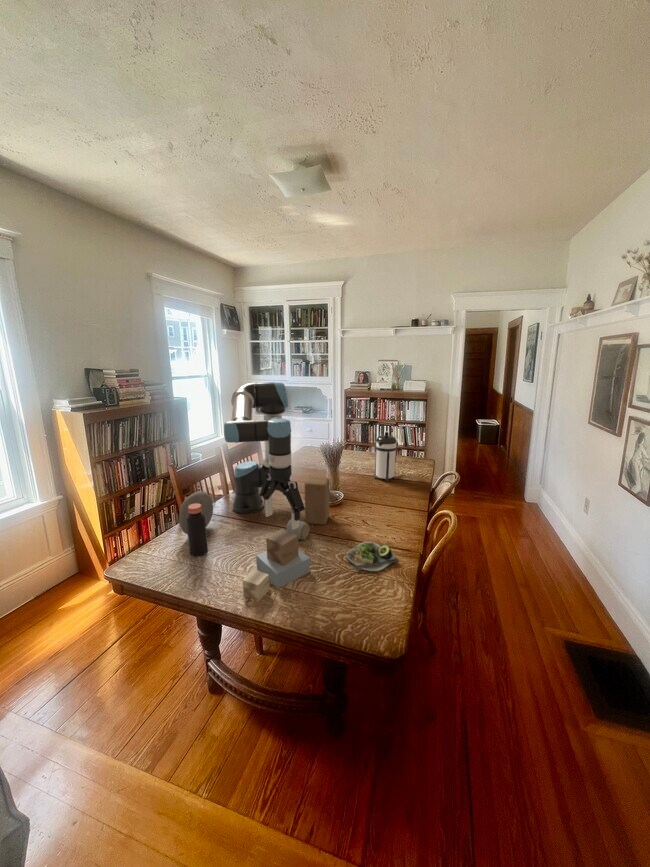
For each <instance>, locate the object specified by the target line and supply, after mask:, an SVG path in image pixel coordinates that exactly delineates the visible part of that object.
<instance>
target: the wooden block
mask: <svg viewBox="0 0 650 867" xmlns="http://www.w3.org/2000/svg"><path fill="white" fill-rule="evenodd" d="M304 507H305V510H304V522H305V523H307V524H313V525H322V526H323V525H326V524H327V521H328V518H329V517H330V478H328V477H321V476H309V477H308V478H307V480H306V481H305V483H304Z"/></svg>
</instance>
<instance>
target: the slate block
mask: <svg viewBox="0 0 650 867" xmlns="http://www.w3.org/2000/svg"><path fill="white" fill-rule="evenodd" d="M298 553H299V555H298V556H297V557H296V558H294V559H293V560H291V561H290V562H288V563H287V564H286V565H284V566H282V565H280V564H278V563H276V562H274V561H272V560H270V559H268V558H267V550H265V551H262V552H260V553H258V554H256V555H255V556H256V557H255V560H256V570H257V571H260V572H263V573H266V574H269V583H271V584H272V585H273V586H274V587H275V589H279V588H281V587H283V586H285V585H287V584H288V583H290V582H293V581H294V580H296V579H298V578H300V577H302V576H304V575H306V574H308V573H310V572H311V558H310V557H309V556H308V555H307V554H305V553H303V552H302V551H301V550H300V549H298Z"/></svg>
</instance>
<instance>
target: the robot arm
mask: <svg viewBox="0 0 650 867" xmlns="http://www.w3.org/2000/svg"><path fill="white" fill-rule="evenodd" d="M288 401H289V400H288V394H287V388H286V385H285V384H284V383H282V382H275V381H274V382H248V383H245V384H243V385H241V386H240V387H238V388H237V389H236V390H235V391H234V392H233V394H232V396H231V400H230V402H231V406H232V413H231V420H230V421H225V422H224V424H223V434H224V437H223V438H224V441H225V442H226V443H235V444H238V443H250V442H264V459H263V460H262V461H261V464H259V463H258V462H257V461H256V460H254V461H253V460H251V461H250V460H249V461H244V462H241V463H238V464H237V465H236V466H235V467H234V471H233V472H234V473H233V474H234V476H233V477H234V486H235V487H234V488H235V490H234V491H235V495H234V499H233V503H232V509H233V511H234V512H235V513H238V514H251V513H255V512H259V511H261V509H263V507H265V510H264V511H265V517H266V518H268V517H270V516H272V515H273V514H274V513H273V512H274V511H273V510H274V509H273V497H272V495H273V494H274V493H275V491H279V492H280V493H282V494H283V495H284V496H285V497H286V499H287V502H288V504H289V506H290V507H291V509H292V511H291V519H292V529H293V530H294V529H296V528H298V527H299V520H301V513H302V512H303V511H305V503H304V502H303V499H302V497H301V494H300V491H299V485H298V482H297V481H294V482H293V481H291V476H292V445H291V443H292V434H291V433H292V427H291V426H292V425H291V421H290V420H289V419H286V418H283V414H284V413H286V408H288V407H289V402H288ZM253 409H259V412H260V414H262V415H263V419H261V420H259V419H258V420H257V419H256V420H255V419H253ZM260 488H261V489H260ZM262 498H263V499H262Z"/></svg>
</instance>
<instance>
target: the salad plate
mask: <svg viewBox="0 0 650 867" xmlns="http://www.w3.org/2000/svg"><path fill="white" fill-rule="evenodd" d="M358 553H359V557H358V558H359V560H357V559H356V555H357V554H358ZM346 559H347V560H348V561H349V562H350V563H351V564H352V565H353V569H354V570H356V571H359V570H361V571H363V570H364V571H367V572H380V571H382V570H384V569H385V568H387V567H388V566H390V565H392V564H394V563H397V562H399V561H400V558H396V554H395V553H394V552H392V549H391V547H390V546H389V545H388V544H382V545H380V544H378V543H377V542H373V541H363V542H361V543H358V544H357V545H356V546H354V547H353V548H351V549H349V550H347V552H346Z"/></svg>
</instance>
